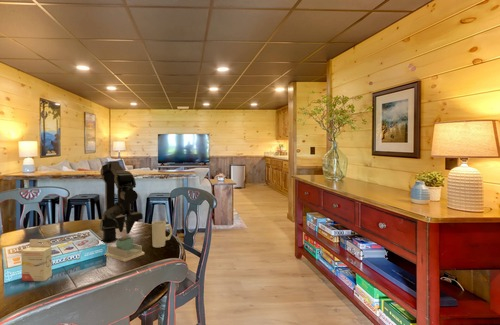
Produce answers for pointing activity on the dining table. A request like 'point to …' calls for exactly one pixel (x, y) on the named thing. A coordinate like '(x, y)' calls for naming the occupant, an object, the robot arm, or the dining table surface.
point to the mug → (160, 233)
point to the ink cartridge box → (37, 261)
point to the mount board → (124, 253)
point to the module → (124, 243)
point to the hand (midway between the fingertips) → (124, 232)
